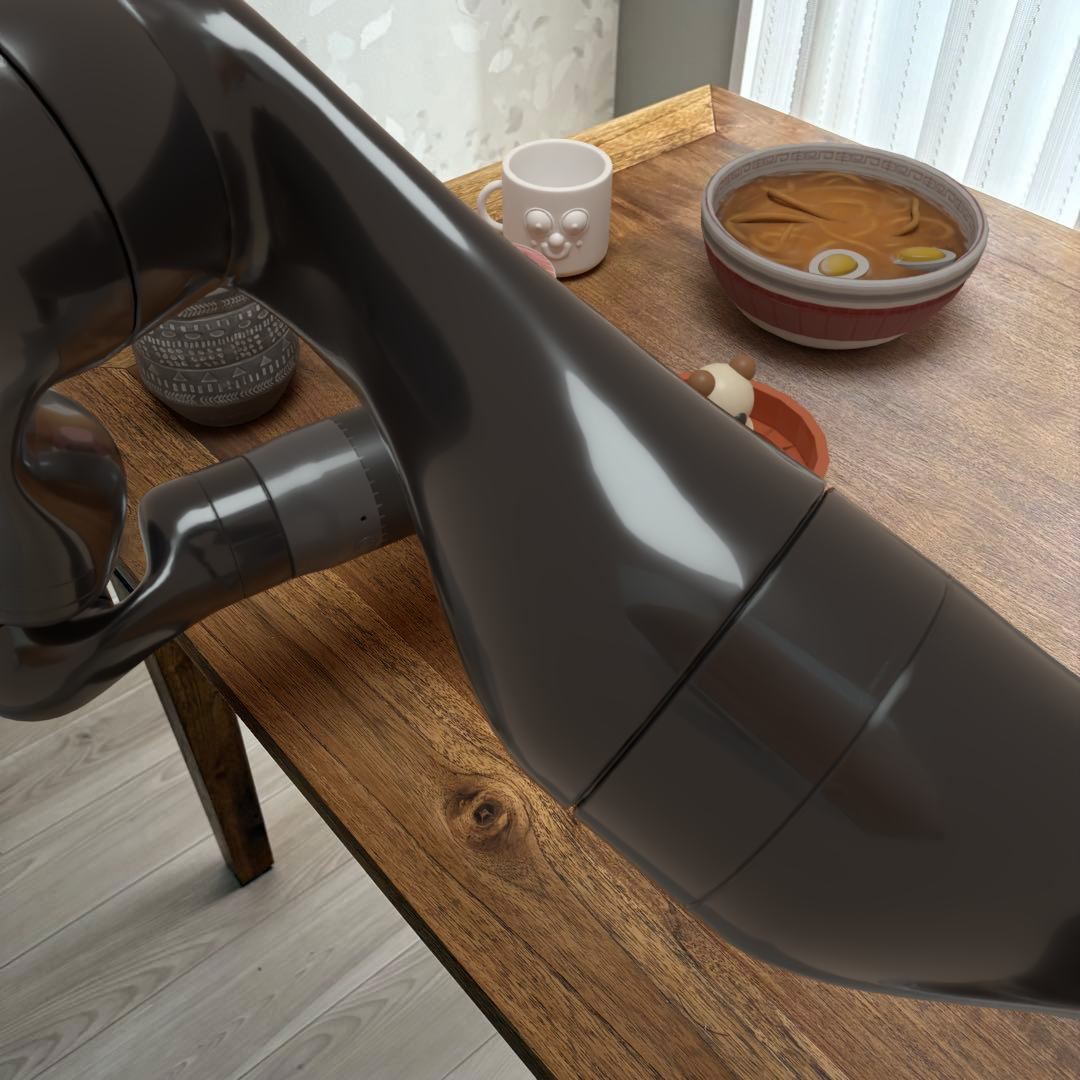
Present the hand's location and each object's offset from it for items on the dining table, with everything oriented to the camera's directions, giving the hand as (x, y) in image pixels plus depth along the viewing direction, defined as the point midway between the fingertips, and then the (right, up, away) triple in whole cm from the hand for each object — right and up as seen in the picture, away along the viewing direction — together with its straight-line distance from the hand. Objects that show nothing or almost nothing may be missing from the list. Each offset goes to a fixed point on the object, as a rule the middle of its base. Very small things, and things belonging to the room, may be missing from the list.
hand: (596, 388), depth 65 cm
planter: (-28, +3, +23) cm, 36 cm away
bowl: (+21, +11, +32) cm, 39 cm away
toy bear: (+8, -6, +14) cm, 17 cm away
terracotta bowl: (+8, -6, +14) cm, 18 cm away
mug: (-3, +17, +37) cm, 41 cm away
